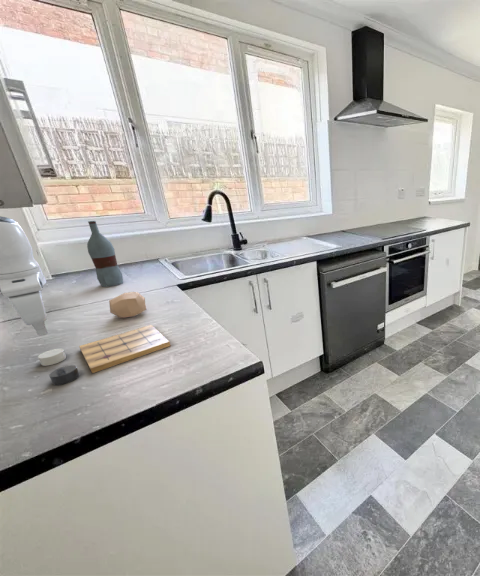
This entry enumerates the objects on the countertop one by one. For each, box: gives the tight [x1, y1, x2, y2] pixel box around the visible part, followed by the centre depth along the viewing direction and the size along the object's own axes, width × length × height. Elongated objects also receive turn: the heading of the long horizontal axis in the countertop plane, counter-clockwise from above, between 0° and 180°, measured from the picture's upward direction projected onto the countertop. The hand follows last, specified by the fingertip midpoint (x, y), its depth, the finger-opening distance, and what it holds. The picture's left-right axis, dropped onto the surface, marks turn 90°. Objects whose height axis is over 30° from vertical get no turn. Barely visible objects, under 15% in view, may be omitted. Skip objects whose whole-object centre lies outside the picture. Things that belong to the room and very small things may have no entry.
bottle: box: [86, 220, 124, 288], centre depth 144 cm, size 9×9×30 cm
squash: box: [108, 291, 147, 319], centre depth 116 cm, size 11×20×9 cm, turn 37°
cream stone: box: [37, 348, 67, 367], centre depth 86 cm, size 5×5×2 cm
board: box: [78, 324, 172, 374], centre depth 92 cm, size 18×18×2 cm
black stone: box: [48, 364, 81, 386], centre depth 78 cm, size 5×5×2 cm
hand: (41, 329), depth 83 cm, fingers open, 8 cm apart
